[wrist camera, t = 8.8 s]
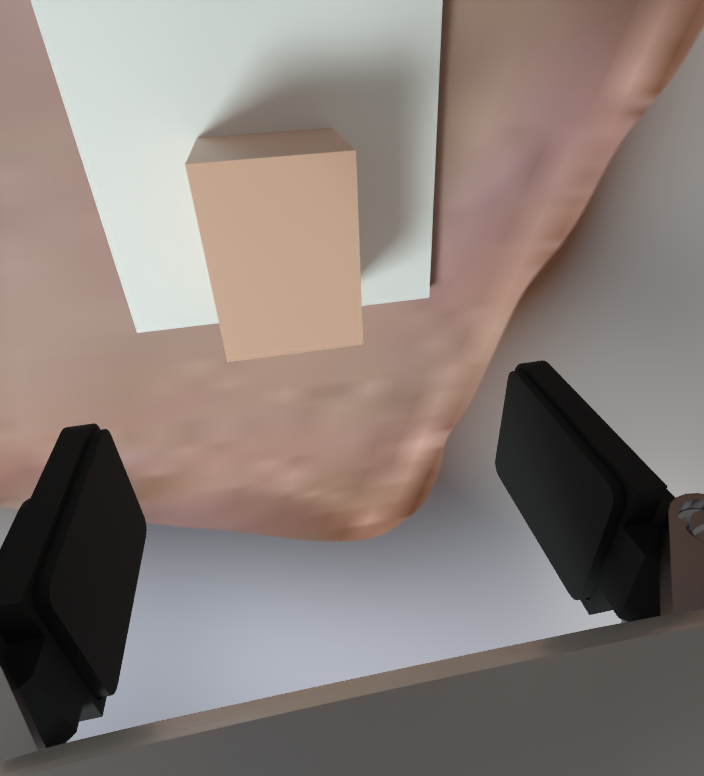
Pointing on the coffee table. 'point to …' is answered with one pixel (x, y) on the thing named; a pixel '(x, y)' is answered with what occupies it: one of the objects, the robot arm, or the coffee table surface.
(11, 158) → the coffee table surface
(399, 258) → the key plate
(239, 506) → the coffee table surface
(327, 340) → the tan block
